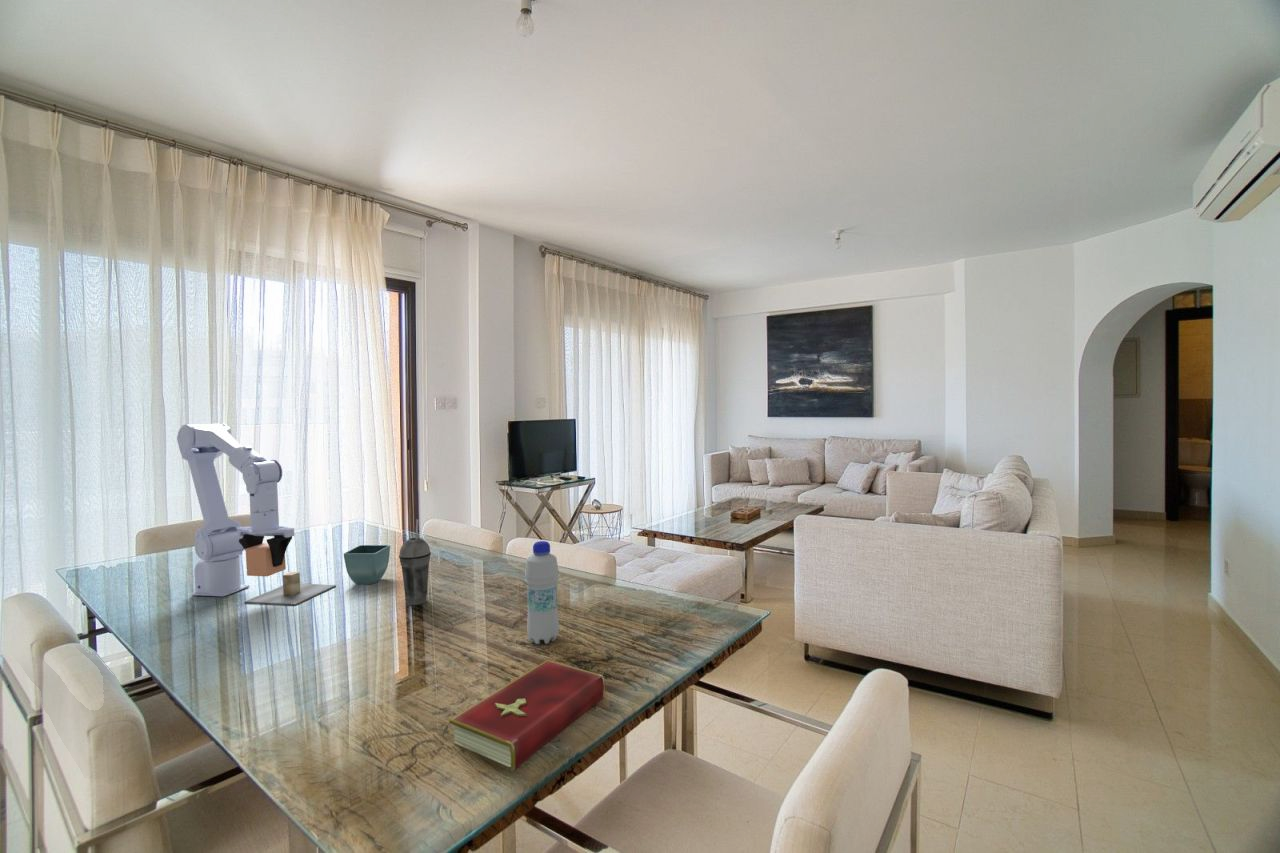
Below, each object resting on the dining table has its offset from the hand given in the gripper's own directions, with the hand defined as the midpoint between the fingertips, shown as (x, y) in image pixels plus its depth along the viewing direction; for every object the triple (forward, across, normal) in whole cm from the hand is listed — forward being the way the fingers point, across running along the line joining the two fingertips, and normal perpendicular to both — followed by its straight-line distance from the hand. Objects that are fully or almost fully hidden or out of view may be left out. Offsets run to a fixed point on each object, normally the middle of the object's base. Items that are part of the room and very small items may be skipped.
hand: (266, 565), depth 138 cm
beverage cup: (+9, +37, +4) cm, 39 cm away
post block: (+9, +2, +5) cm, 10 cm away
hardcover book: (+10, +84, -39) cm, 93 cm away
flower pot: (+9, +15, +17) cm, 25 cm away
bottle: (+9, +75, -12) cm, 77 cm away
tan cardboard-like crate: (+2, 0, 0) cm, 2 cm away
